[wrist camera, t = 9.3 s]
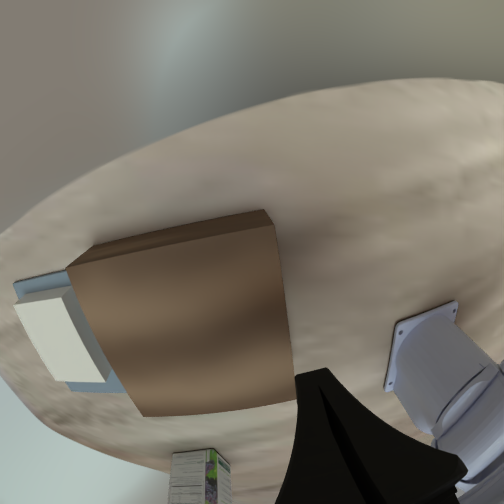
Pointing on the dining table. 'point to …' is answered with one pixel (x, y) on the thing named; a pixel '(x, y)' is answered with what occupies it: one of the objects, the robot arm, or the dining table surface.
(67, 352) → the tile
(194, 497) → the syrup box
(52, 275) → the mat
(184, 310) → the block
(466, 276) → the dining table surface
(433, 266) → the dining table surface
